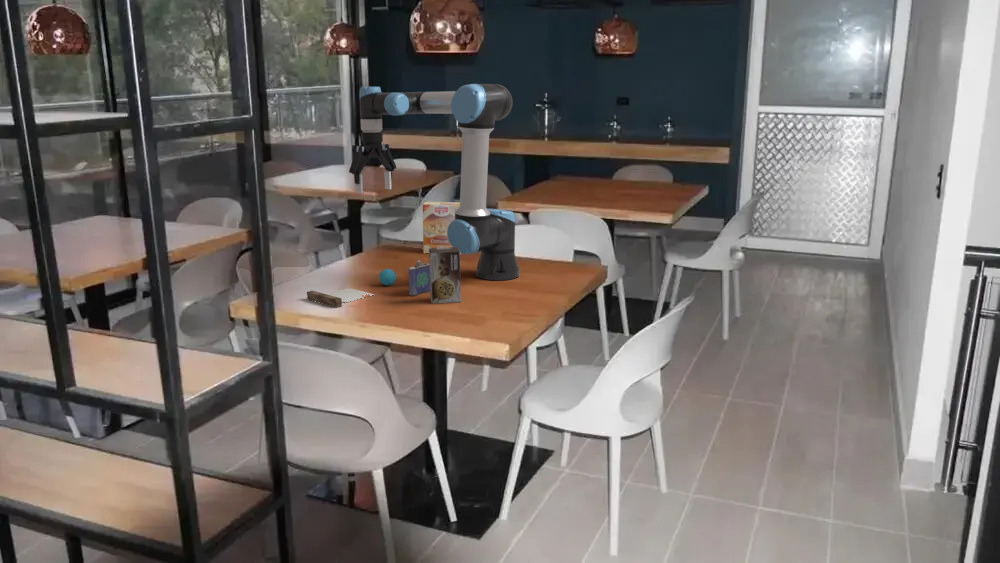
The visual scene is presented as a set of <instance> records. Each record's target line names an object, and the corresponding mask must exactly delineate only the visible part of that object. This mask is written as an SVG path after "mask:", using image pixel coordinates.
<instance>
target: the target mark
mask: <svg viewBox="0 0 1000 563" xmlns="http://www.w3.org/2000/svg"><path fill="white" fill-rule="evenodd" d="M326 294H327V295H331V296H335V297H338V298H341V299H342V303H343V302H345V303H344V304H346V302H348V303H350V301H351V302H355V301H357V299H359V300H361V299H360V298H362V299H365V298H364V297H362V295H364V296H365V295H366V294H367V295H368V294H369V295H370V297H373V296H372V295H374V296H375V295H376V294H374V293H371V292H367V291H363V290H358V289H355V288H351V287H350V288H345V289H341V290H337V291H333V292H329V293H326ZM354 300H355V301H354Z"/></svg>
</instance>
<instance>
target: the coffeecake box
mask: <svg viewBox="0 0 1000 563" xmlns="http://www.w3.org/2000/svg"><path fill="white" fill-rule="evenodd" d="M459 207H460V202H457V201H455V202H450V201H449V202H448V201H445V202H444V201H426V202H423V204H422V245H423V246H422V248H423V252H422V253H423V254H425V253H429V248H449V247H453V246H452V245H451V244H450V242H449V240H448V236H447V229H448V226H449V224H450V223H451V222H452V221H454V220H455V211H456V210H457V209H458V208H459ZM460 254H461V253H460Z"/></svg>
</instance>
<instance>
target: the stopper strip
mask: <svg viewBox="0 0 1000 563" xmlns="http://www.w3.org/2000/svg"><path fill="white" fill-rule="evenodd" d="M327 294H328V293H323V292H319V291H316V290H308V291H306V298H307V299H309V300H308V301H311V300H313V301H312V302H314V301H316V302H315V303H318V302H320V303H319V304H321V303H323V305H325V304H326V305H325V306H328V305H330V306H329V307H332V306H333V308H336V309H337V307H338V308H341V307H343V304H342V303H343V302H342V299H341V298H338V297H335V296H331V295H327Z"/></svg>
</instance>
